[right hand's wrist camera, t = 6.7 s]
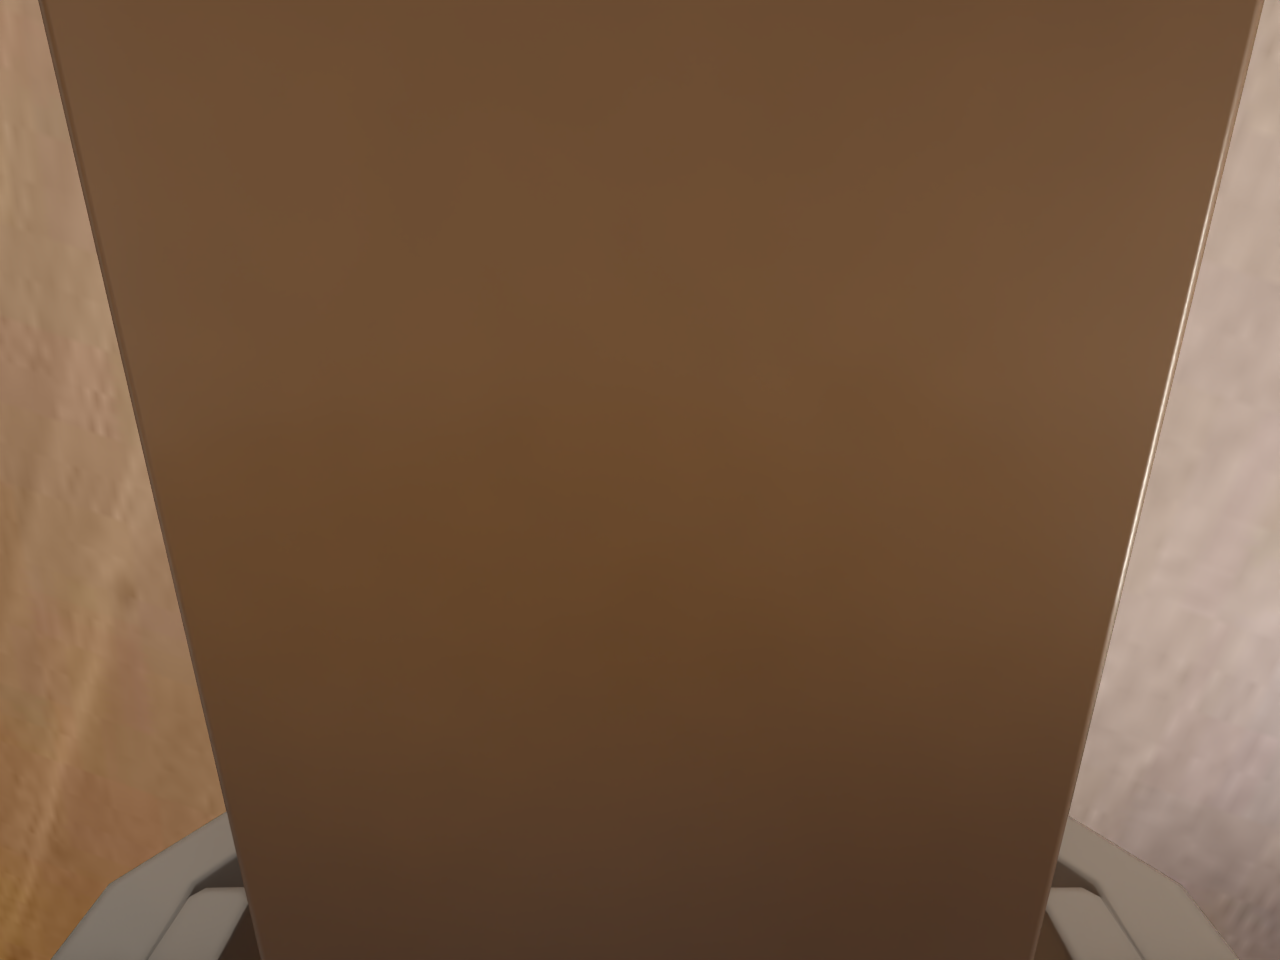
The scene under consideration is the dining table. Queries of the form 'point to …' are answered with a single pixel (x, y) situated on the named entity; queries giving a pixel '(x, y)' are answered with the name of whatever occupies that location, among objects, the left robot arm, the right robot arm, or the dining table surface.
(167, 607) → the dining table surface
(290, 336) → the bar
